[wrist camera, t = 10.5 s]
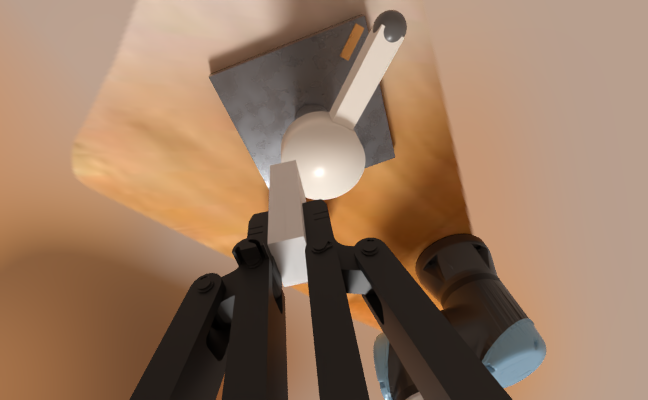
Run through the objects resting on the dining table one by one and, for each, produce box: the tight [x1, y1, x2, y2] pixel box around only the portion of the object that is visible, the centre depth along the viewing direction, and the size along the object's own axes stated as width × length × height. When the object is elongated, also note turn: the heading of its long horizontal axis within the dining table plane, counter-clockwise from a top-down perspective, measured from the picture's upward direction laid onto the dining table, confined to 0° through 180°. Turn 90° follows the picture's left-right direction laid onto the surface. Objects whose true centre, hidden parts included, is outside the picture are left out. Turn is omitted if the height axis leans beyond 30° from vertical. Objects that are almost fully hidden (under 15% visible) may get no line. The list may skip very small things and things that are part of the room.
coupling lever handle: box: [281, 10, 407, 200], centre depth 33 cm, size 20×9×4 cm, turn 153°
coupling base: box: [209, 15, 395, 188], centre depth 41 cm, size 20×20×10 cm
